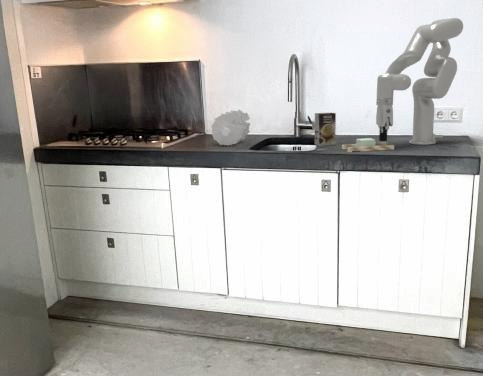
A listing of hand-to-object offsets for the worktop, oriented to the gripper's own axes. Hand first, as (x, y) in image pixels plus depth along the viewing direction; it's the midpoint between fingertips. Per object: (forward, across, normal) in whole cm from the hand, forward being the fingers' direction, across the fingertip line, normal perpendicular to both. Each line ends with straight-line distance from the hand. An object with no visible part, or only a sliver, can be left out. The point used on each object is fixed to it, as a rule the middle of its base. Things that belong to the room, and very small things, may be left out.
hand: (382, 140), depth 242 cm
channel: (+4, 0, +7) cm, 8 cm away
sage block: (+4, 0, +8) cm, 9 cm away
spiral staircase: (+5, +43, +68) cm, 81 cm away
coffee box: (+4, +21, +22) cm, 31 cm away
